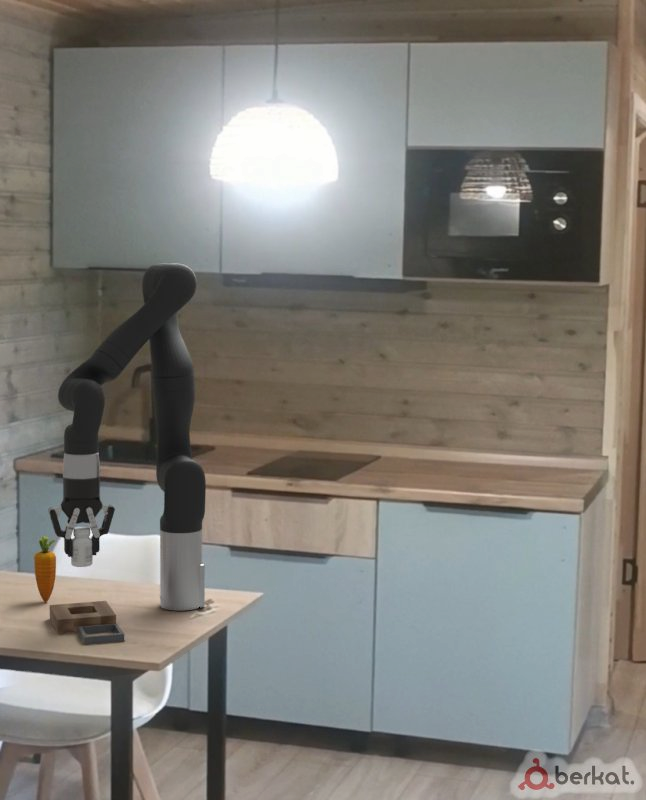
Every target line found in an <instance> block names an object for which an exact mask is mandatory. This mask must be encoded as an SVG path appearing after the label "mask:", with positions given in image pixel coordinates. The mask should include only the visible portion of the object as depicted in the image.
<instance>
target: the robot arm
mask: <svg viewBox="0 0 646 800" xmlns="http://www.w3.org/2000/svg"><path fill="white" fill-rule="evenodd" d="M197 281H198V280H197V276H196V274H195V272H194V270H192V269H191V268H190V267H189V266H187V265H186V264H182V263H176V262H172V263H171V262H168V263H167V262H166V263H165V262H164V263H163V262H162V263H161V262H160V263H156V264H151V265H150V266H149V267H148V268H147V269H146V271H145V272H144V274H143V277H142V283H141V286H142V287H141V288H142V289H141V290H142V298H143V305H142V306H141V307H140V308H139V309H138V310H137V311H135V312H134V313H133V314H132V315H131V316H129V317H128V318H127V319H125V320H124V321H123V322H121V324H119V325H118V326H117V327H115V328H114V329H113V330H112V331H111V332H110V333H109V334H108V335H107V336H106V337H105V338H104V340H102V342H101V343H100V344H99V346H98V347H97V348H96V349H95V351H94V352H93V353H92V354H91V356H90V357H89V358H88V359H87V360H85V361H84V362H82V363H81V364H79V366H77V367H76V368H75V369H74V370H73V371H72V372H71V373H70V374H68V375H67V377H65V378H64V380H63V381H62V383H61V384H60V386H59V388H58V392H57V393H58V394H57V398H58V402H59V404H60V405H61V406H62V408H63V409H66V410H68V411H71V412H73V416H72V423H71V424H69V425H67V426H66V427H65V429H64V433H63V452H64V453H63V461H62V502H61V504H60V505H59V506H56V507H48V515H49V519H50V521H51V524H52V528H53V531H54V533H55V535H56V537H58V538H63V550H64V553H65V555H67V557H68V558H71V557H72V539H73V538H72V534H73V530H74V528H76V525H77V524H82V523H84V524H88V526H89V528H90V532H91V534H92V536H91V535H90V538H91V539H92V543H93V556H97V553H99V552H100V550H101V549H100V538H101V537H102V536H104V535H108V534H109V531H110V527H111V525H112V521H113V518H114V514H115V510H116V509H115V507H114V506H113V505H112V504H104V503H103V502H102V501H101V479H100V476H101V468H100V467H101V463H100V455H99V432H100V427H101V425H102V420H103V419H102V418H103V415H104V412H105V411H104V410H105V404H106V402H105V401H106V398H105V392H104V389H103V388H102V386H103V385H104V384H105V383H109V382H112V381H114V380H116V379H118V377H119V376H120V375H121V374H122V372H123V371H124V370H125V369H126V367H127V366H128V365H129V364H130V362H131V361H132V360H133V358H134V357H135V356H136V355H137V353H138V352H139V351H140V350H141V349H142V348H143V347H144V345H146V343H147V342H148V341H149V352H150V363H151V365H150V366H151V367H150V368H151V369H150V370H151V372H150V373H151V385H152V387H151V388H152V396H153V397H152V398H153V408H154V409H153V410H154V418H155V425H156V433H157V434H156V435H157V437H156V439H157V440H156V441H157V446H156V447H157V448H156V470H155V472H156V474H155V476H156V477H155V478H156V481H157V485H158V486H159V488H160V490H161V491H163V493H164V495H163V496H164V497H163V499H164V500H163V501H164V503H163V512H162V513H163V514H162V515H161V516H160V518H159V541H160V542H159V555H160V556H159V567H160V568H159V570H160V571H159V573H160V574H159V575H160V576H159V578H160V581H159V584H160V585H159V587H160V588H159V591H160V593H159V603H160V604H159V605H160V607H161V608H162V609H164V610H169V611H179V612H180V611H191V610H196V609H199V607H200V608H205V607H204V606H206V603H205V602H206V599H205V598H206V595H205V594H206V593H205V591H206V584H205V580H206V578H205V575H206V574H205V573H206V572H205V571H206V569H205V566H206V565H205V564H204V563H203V521H204V517H205V513H206V496H207V495H206V492H207V488H206V485H207V483H206V475H205V472H204V469H203V467H202V465H200V463H198V462H197V461H195V460H194V459H193V454H192V446H191V439H190V438H191V437H190V434H191V433H190V430H191V429H190V428H191V424H192V423H191V422H192V417H193V412H194V409H195V408H194V406H195V400H196V382H195V380H196V379H195V370H194V364H193V360H192V357H191V355H190V353H189V350H188V348H187V346H186V343H185V341H184V339H183V336H182V334H181V331H180V327H179V320H178V319H179V318H178V312H179V311H181V309H182V308H184V306H185V305H187V304H188V303H189V302H190V301H191V300H192V299H193V297H194V296H195V293H196V292H197V291H196V290H197V285H198V283H197ZM101 510H102V514H103V515H104V517H103V520H102V522H101V526H100V528H98V525H97V523H98V522H97V521H96V517H97V516H98V514H99V513H100V512H101ZM61 512H63V513H64V515H65V516H66V517H67V519H66V522H65V523H66V524H65V528H64V530H62V527H61V525H60V522H59V518H60V517H61Z"/></svg>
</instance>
